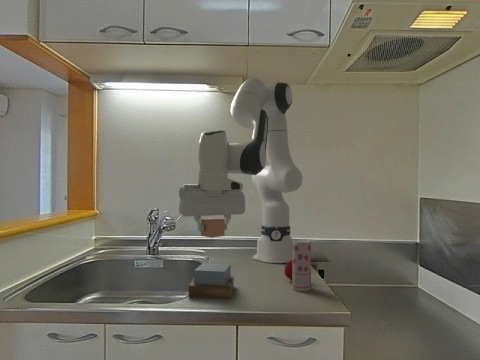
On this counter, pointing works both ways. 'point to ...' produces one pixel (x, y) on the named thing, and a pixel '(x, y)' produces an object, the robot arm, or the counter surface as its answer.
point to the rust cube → (213, 227)
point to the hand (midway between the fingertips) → (212, 230)
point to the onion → (289, 269)
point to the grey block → (212, 274)
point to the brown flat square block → (212, 290)
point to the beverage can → (301, 265)
